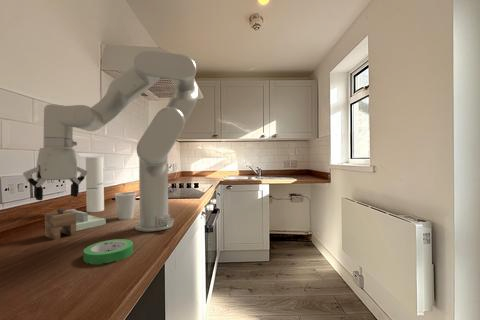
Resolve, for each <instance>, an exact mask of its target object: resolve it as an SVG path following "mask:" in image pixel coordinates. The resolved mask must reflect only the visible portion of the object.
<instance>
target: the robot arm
mask: <svg viewBox="0 0 480 320" xmlns="http://www.w3.org/2000/svg"><path fill="white" fill-rule="evenodd" d="M196 74H197V65H196V63H195V61H194V59H192V58H191V57H189V56H188V55H184V54H182V53H181V54H180V53H173V52H165V51H158V50H157V51H156V50H143V51H139V52H138V53H137V54H136V55H135V56H134V58H133V66H131V67H130V68H128V69H127V70H126V71H124V72H123V73H122V74H120V75H118V77H116V78H114V79H113V80H111V81H110V84H109V85H108V88H107V91H106V93H105V95H104V96H103V97H102V98H101V99H100V100H99V101H98V102H96V104H94V105H93V106H91V107H90V106H88V105H86V104H76V105H75V104H73V105H72V104H71V105H63V104H55V103H52V104H46V105H45V106H44V109H43V147H40V148H39V151H38V155H37V158H36V159H37V160H36V165H35V167H34V168H31V169H29V170H26V171H24V172H23V173H22V175H23V177H24V178H25V180H26V182H28V183H29V184H30V185H31V186H32V187H33V191H34V192H33V197H34V198H35V200H37V201H42V200H43V195H44V188H43V186H42V185H43V184H44V183H45V182H46V181H63V180H68V181H70V182H71V185H70V196H71V197H74V198H75V197H76V198H77V197H78V194H79V193H80V192H79V186H80V185H81V183H82V181H84V180H85V178H86V174H87V171H86V169H84V168H81V167H79V166H78V161H77V160H78V159H77V155H76V151H75V149H74V147H76V146H77V145H78V142H77V141H74V139H73V128H76V129H81V130H84V131H87V132H96V131H98V130H100V129H102V128H103V127H104V126H106V125H107V124H108V123H110V122H111V121H112V120H114V119H115V118H116V117H118V115H119V114H120V113H121V112H122V111H123V110H124V109H126V108H127V107H128V106H129V105H130V103H131V102H132V101H134V100H135V99H136V98H138V97H139V96H140V95H142V94H143V93H144V92H146V91H147V90H149V89H150V88H151V87H153V85H155V84H156V83H158V82H159V81H160V79H166V80H168V79H169V80H170V81H171V83H172V85H173V87H174V89H175V90H174V93H173V95H172V96H171V98H170V100H169V101H168V103H167V105H166V106H165V107H163V108H161V109H160V110H158V112H156V114H155V116H154V117H153V119H152V120H151V122H150V123H149V125H148V127H147V128H146V129H145V131H144V132H143V134H142V136H141V138H140V139H139V141H138V143H137V145H136V154H137V157H138V162H139V163H138V165H139V166H138V169H139V170H138V173H139V175H138V176H139V177H138V179H139V180H138V181H139V182H138V183H139V184H138V185H139V186H138V187H139V191H138V193H139V196H138V197H139V222H137V223H136V224H135V225H134V228H135V230H136V231H139V232H158V231H163V230H168V229H170V228H172V227H173V226H174V222H175V219H174V218H171V214H170V213H169V179H168V178H169V172H168V171H169V170H168V163H169V162H168V155H169V153H170V152H171V150H172V149H173V147H174V145H175V144H176V142H177V140H178V139H179V137H180V136H181V134H182V132H183V130H184V128H185V125H186V122H187V121H188V119H189V118H190V115H191V114H192V112H193V110H194V108H195V107H196V105H197V102H198V101H199V100H198V98H199V89H198V85H197V83H196V81H195V80H196V79H195V77H196ZM78 173H80V174H79V176H78ZM33 174H35V177H36V180H35V178H33V176H32V175H33ZM77 176H78V177H77Z"/></svg>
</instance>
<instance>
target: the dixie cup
mask: <svg viewBox="0 0 480 320" xmlns="http://www.w3.org/2000/svg"><path fill="white" fill-rule="evenodd" d="M113 196H114V198H115V199H114V201H115V205H116V211H117V218H118V220H130V219H133V218H134V216H135V215H134V214H135V206H136V205H135V204H136V196H137V192H136V191H135V192H133V191H127V192H126V191H125V192H116V193H114V194H113Z"/></svg>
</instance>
